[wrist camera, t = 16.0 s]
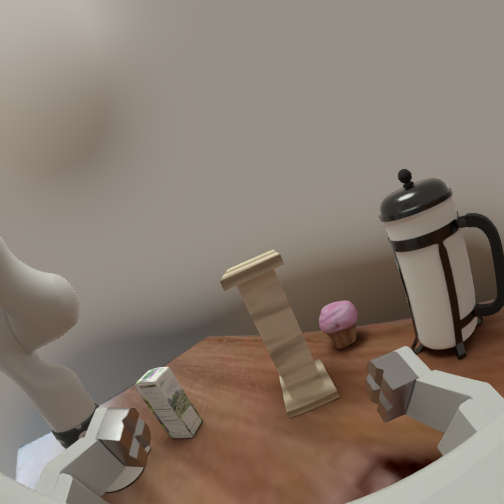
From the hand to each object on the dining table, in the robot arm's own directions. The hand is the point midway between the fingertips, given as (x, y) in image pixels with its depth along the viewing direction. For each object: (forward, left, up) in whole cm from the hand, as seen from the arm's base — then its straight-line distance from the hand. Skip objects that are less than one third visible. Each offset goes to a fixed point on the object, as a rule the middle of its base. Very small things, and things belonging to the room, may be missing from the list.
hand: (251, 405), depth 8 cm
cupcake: (-21, +43, -25) cm, 54 cm away
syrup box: (-42, +11, -25) cm, 50 cm away
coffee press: (+4, +38, -25) cm, 46 cm away
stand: (-23, +28, -25) cm, 44 cm away
